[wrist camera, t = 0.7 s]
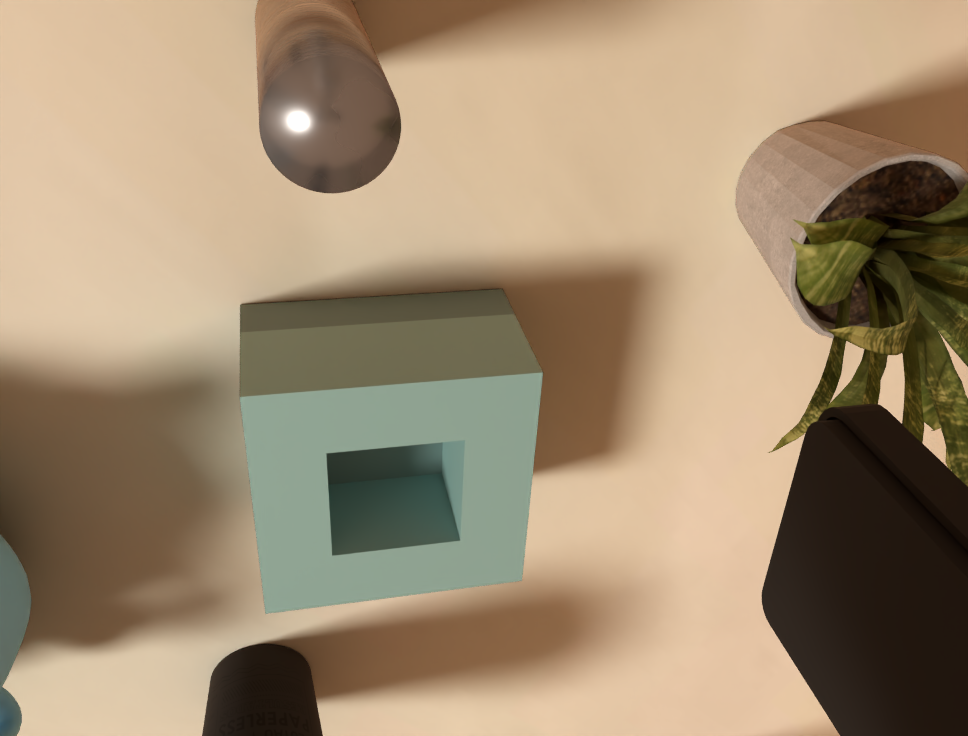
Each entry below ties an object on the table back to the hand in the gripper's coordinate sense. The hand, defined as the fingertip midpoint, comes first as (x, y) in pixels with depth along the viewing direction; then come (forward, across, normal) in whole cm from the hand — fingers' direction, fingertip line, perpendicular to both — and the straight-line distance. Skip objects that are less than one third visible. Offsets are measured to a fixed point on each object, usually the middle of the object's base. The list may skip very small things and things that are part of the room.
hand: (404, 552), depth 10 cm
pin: (+24, 0, -1) cm, 24 cm away
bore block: (+24, -2, +14) cm, 28 cm away
